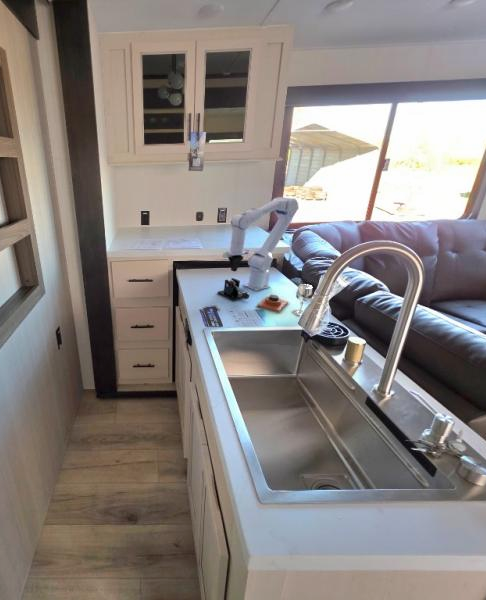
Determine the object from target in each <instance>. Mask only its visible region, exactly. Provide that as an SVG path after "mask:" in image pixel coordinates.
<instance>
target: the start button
mask: <svg viewBox="0 0 486 600" xmlns="http://www.w3.org/2000/svg"><path fill="white" fill-rule="evenodd" d="M269 296H270V297H269V300H271V301H278V298H280V297H279V295H277V294H270V295H269Z"/></svg>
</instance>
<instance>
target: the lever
mask: <svg viewBox="0 0 486 600" xmlns="http://www.w3.org/2000/svg"><path fill="white" fill-rule="evenodd" d="M229 281H231V282H234V283H233V288H235V289H236V290H237V291H238V293H239V294H242V297H243V298H242V299H244V300H248V299H250V294H249V292H246V291H245V292H244V290H243V289H241V288H240V286H239V287H237V286H236V284H237V283H236V282H235V281H233V280H231V279H230V280H229Z"/></svg>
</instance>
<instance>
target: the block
mask: <svg viewBox="0 0 486 600" xmlns="http://www.w3.org/2000/svg"><path fill="white" fill-rule="evenodd" d="M269 297H270V295H268V296H267V295H266V297H265V298H263V299H262V300H261V301H260V302H259V303H258V304H257V308H260V309H263V310H267V311H271V312H275V313H280V312H281V311H282V310H283V309H284V308H285V307H286V306H287V305H288V303H289V300H285V299H282V298H280V297H279V298H278V301H271V300H269Z"/></svg>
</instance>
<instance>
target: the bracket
mask: <svg viewBox="0 0 486 600" xmlns="http://www.w3.org/2000/svg"><path fill="white" fill-rule="evenodd" d="M230 280H233V281H235V282H236V283H237V284H236V286H237V287H239V288H240V283H241V280H239V279H237V278H234V277H232V278H231V279H230ZM230 280H229V279H224V284H223V285H224V287H223V290H219V291H217V295H219V296H221V297H224V298H226V299H228V300H230V301H232V302H234V301H235V302H236V301H239V300H242V299H244V298H243V297H242V294H241V293H240V292H238V291H237V290H236V289H235V288H233V283H234V282H231V281H230Z"/></svg>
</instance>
